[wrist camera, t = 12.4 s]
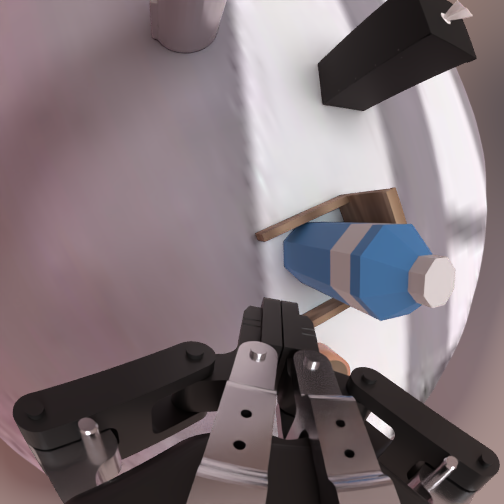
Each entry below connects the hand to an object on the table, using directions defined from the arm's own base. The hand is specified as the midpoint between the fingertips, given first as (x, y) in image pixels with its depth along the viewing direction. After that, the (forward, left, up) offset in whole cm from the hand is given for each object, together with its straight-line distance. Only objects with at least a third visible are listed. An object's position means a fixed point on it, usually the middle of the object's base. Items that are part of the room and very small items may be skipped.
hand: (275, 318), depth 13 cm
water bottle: (+14, +4, -29) cm, 33 cm away
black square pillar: (+12, +31, -29) cm, 44 cm away
